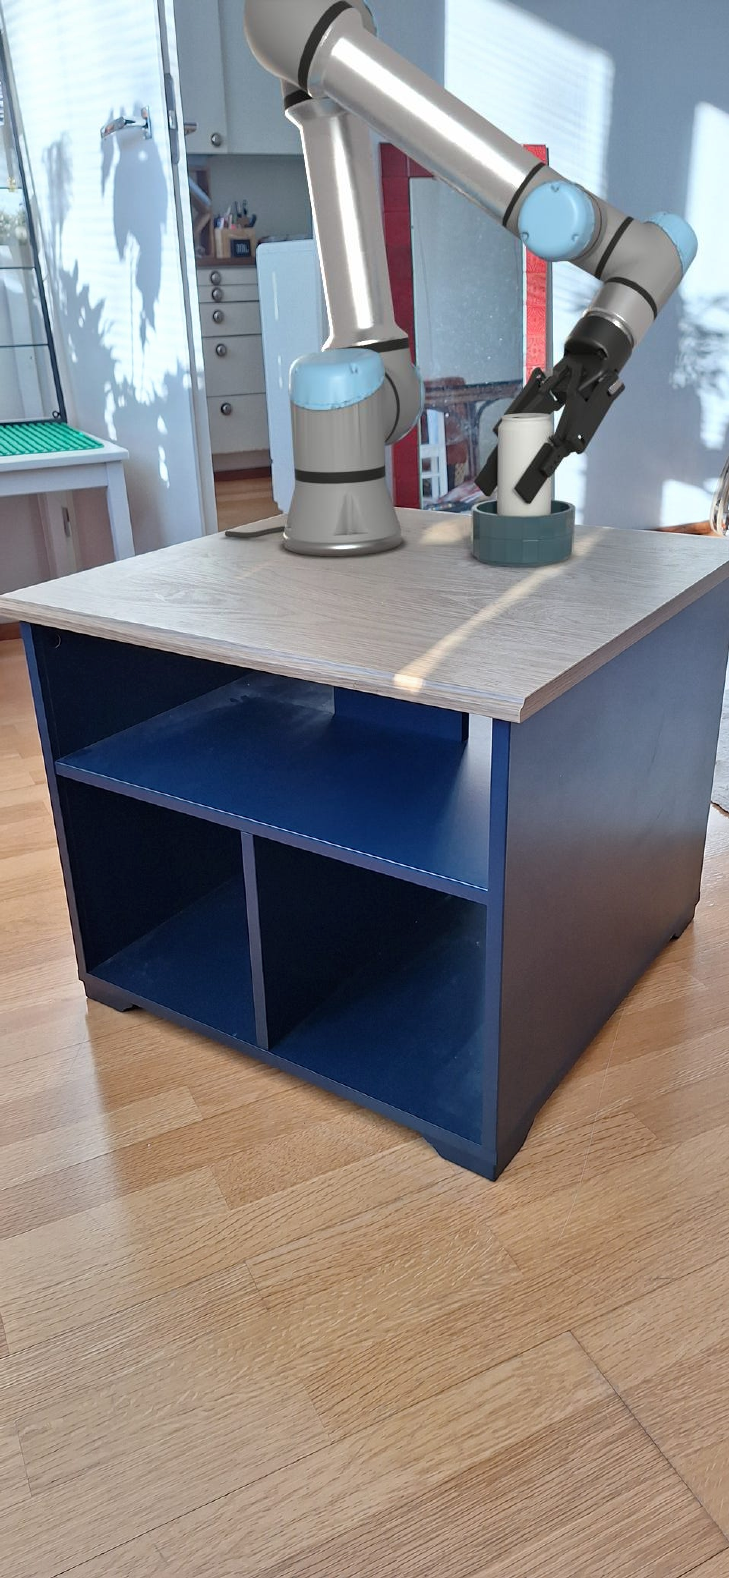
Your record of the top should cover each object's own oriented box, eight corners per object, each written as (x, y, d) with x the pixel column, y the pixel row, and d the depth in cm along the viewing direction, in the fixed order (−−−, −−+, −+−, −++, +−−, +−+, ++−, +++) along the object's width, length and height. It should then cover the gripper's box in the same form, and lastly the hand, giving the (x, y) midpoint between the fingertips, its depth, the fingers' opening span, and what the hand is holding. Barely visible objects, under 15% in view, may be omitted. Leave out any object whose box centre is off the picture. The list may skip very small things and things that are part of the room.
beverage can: (486, 521, 134) (487, 416, 129) (516, 512, 138) (518, 411, 133) (531, 526, 130) (533, 418, 125) (560, 517, 134) (564, 413, 129)
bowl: (453, 561, 134) (453, 511, 132) (501, 542, 143) (502, 495, 141) (544, 572, 128) (546, 519, 125) (589, 552, 137) (591, 502, 134)
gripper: (684, 359, 127) (576, 523, 126) (564, 356, 142) (465, 502, 140) (656, 311, 122) (543, 481, 121) (534, 312, 137) (432, 464, 135)
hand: (501, 492), depth 130 cm, fingers closed on beverage can, 6 cm apart
